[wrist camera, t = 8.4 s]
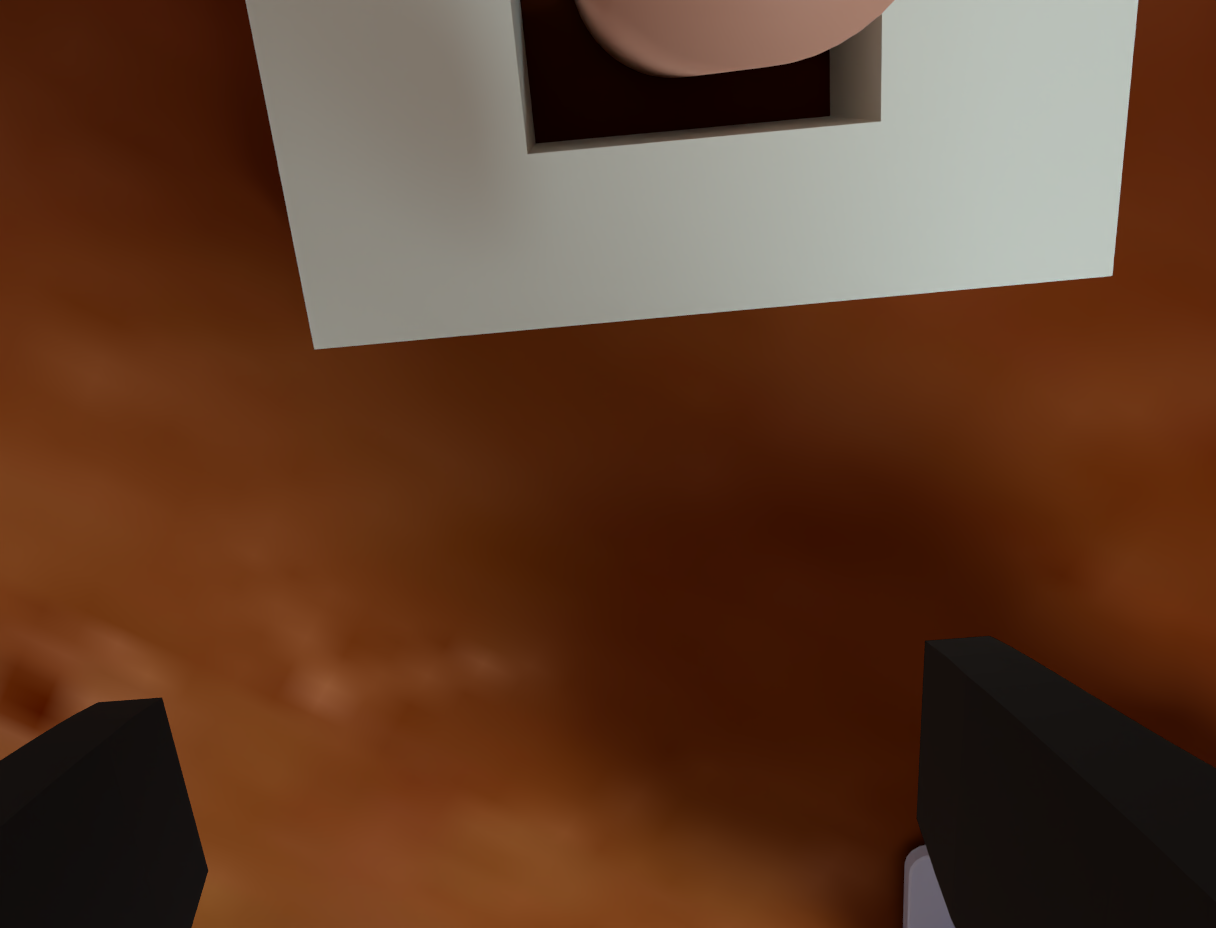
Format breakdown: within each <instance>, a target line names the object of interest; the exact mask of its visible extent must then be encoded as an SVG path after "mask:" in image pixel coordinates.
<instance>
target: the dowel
mask: <svg viewBox="0 0 1216 928" xmlns="http://www.w3.org/2000/svg"><path fill="white" fill-rule="evenodd" d="M574 1H575V5H576V7H577V9H578V12H579V14H580V17H581V19H582V21H583V22H584V24H585V26H586V28H587V30H588V31H589V32H590V34H591V35H592V37H593V38H594V39H595V41H596V42H597V43H598V44H599V45H600V46H601V47H602V48H603V49H604V50H605V51H606V52H607V53H608V54H609V55H610V56H612V57H613V58H614V59H616V60H617V61H618V62H620V63H622V64H623V65H625V66H627V67H628V68H631V69H633V70H635V71H638V72H640V73H643V74H647V75H650V76H654V77H662V78H683V77H691V76H699V75H707V74H715V73H723V72H731V71H739V70H747V69H755V68H763V67H770V66H776V65H783V64H789V63H793V62H796V61H800V60H803V59H806V58H809V57H813V56H816V55H818V54H820V53H822V52H824V51H826V50H829V49H831V48H833V47H835V46H837V45H839V44H841V43H842V42H844V41H846V40H847V39H849V38H850V37H852V36H854V35H855V34H857V33H858V32H860V31H861V30H862V29H864V28H865V27H866V26H867V25H869V24H870V23H871V22H872V21H873V20H875V19H876V18H877V17H878V16H880V15H881V14H882V13H883V12H884V11H885V10H886V9H887V8H888V6H889V5H890V4H891V3H892V2H893V1H894V0H574Z"/></svg>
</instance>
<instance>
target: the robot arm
mask: <svg viewBox="0 0 1216 928" xmlns="http://www.w3.org/2000/svg"><path fill="white" fill-rule="evenodd" d="M917 820H918V824H919V827H920V830H921V833H922V836H923V839H924V842H925V845H923V846H919V847H917V848H916V849H914V850H912V851H911V852H910V853H909V855H908V856H907V857H906V861H905V866H904V906H903V928H1216V768H1214V767H1213V766H1211V765H1209V764H1207V763H1205V762H1204V761H1202V760H1200V759H1198V758H1197V757H1195V756H1193V755H1191V754H1190V753H1188V752H1186V751H1185V750H1183V749H1181V748H1179V747H1178V746H1176V745H1174V744H1172V743H1171V742H1169V741H1167V740H1166V739H1164V738H1162V737H1161V736H1159V735H1157V734H1155V733H1154V732H1152V731H1150V730H1149V729H1147V728H1145V727H1144V726H1142V725H1140V724H1139V723H1137V722H1135V721H1134V720H1132V719H1130V718H1129V717H1127V716H1125V715H1124V714H1122V713H1120V712H1119V711H1117V710H1115V709H1114V708H1112V707H1110V706H1109V705H1107V704H1105V703H1104V702H1102V701H1100V700H1099V699H1097V698H1096V697H1094V696H1092V695H1091V694H1089V693H1087V692H1086V691H1084V690H1082V689H1081V688H1079V687H1078V686H1076V685H1074V684H1073V683H1071V682H1069V681H1068V680H1066V679H1064V678H1063V677H1061V676H1059V675H1058V674H1056V673H1055V672H1053V671H1051V670H1050V669H1048V668H1046V667H1045V666H1043V665H1041V664H1040V663H1038V662H1036V661H1035V660H1033V659H1031V658H1030V657H1028V656H1026V655H1024V654H1023V653H1021V652H1019V651H1017V650H1016V649H1014V648H1012V647H1010V646H1008V645H1007V644H1005V643H1003V642H1001V641H999V640H997V639H995V638H993V637H991V636H983V637H969V638H956V639H943V640H929V641H925V653H924V674H923V695H922V716H921V737H920V758H919V779H918V800H917ZM207 873H208V868H207V864H206V860H205V857H204V853H203V849H202V846H201V842H200V838H199V834H198V831H197V827H196V823H195V819H194V816H193V812H192V808H191V804H190V801H189V797H188V793H187V789H186V786H185V782H184V778H183V774H182V771H181V767H180V763H179V759H178V756H177V752H176V748H175V744H174V741H173V737H172V733H171V730H170V726H169V722H168V718H167V715H166V711H165V707H164V703H163V700H162V698H151V699H137V700H124V701H110V702H98V703H96V704H94V705H92V706H90V707H88V708H86V709H84V710H82V711H81V712H79V713H77V714H75V715H73V716H71V717H70V718H68V719H66V720H64V721H63V722H61V723H59V724H58V725H56V726H54V727H53V728H51V729H50V730H48V731H46V732H45V733H43V734H41V735H40V736H38V737H37V738H35V739H33V740H32V741H30V742H29V743H27V744H25V745H24V746H22V747H21V748H19V749H18V750H16V751H15V752H13V753H11V754H10V755H8V756H7V757H5V758H4V759H2V760H1V761H0V928H191V927H192V924H193V920H194V917H195V913H196V910H197V907H198V903H199V900H200V896H201V893H202V890H203V886H204V883H205V880H206V876H207Z"/></svg>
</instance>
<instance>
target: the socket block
mask: <svg viewBox="0 0 1216 928" xmlns="http://www.w3.org/2000/svg"><path fill="white" fill-rule="evenodd" d="M245 1H246V6H247V11H248V16H249V21H250V26H251V31H252V36H253V41H254V46H255V51H256V57H257V62H258V67H259V72H260V77H261V82H262V87H263V92H264V97H265V102H266V107H267V112H268V117H269V122H270V127H271V133H272V138H273V143H274V148H275V153H276V158H277V163H278V168H279V173H280V178H281V183H282V188H283V193H284V198H285V203H286V208H287V214H288V219H289V224H290V229H291V234H292V239H293V244H294V249H295V254H296V259H297V264H298V269H299V274H300V279H301V284H302V290H303V295H304V300H305V305H306V310H307V315H308V320H309V325H310V330H311V335H312V340H313V345H314V349H325V348H336V347H347V346H357V345H368V344H379V343H390V342H401V341H412V340H422V339H433V338H444V337H455V336H466V335H477V334H487V333H498V332H509V331H520V330H531V329H542V328H552V327H563V326H574V325H585V324H596V323H607V322H617V321H628V320H639V319H650V318H661V317H672V316H682V315H693V314H704V313H715V312H726V311H737V310H747V309H758V308H769V307H780V306H791V305H802V304H812V303H823V302H834V301H845V300H856V299H867V298H877V297H888V296H899V295H910V294H921V293H932V292H942V291H953V290H964V289H975V288H986V287H997V286H1007V285H1018V284H1029V283H1040V282H1051V281H1062V280H1072V279H1083V278H1094V277H1105V276H1112V274H1113V263H1114V252H1115V242H1116V231H1117V220H1118V210H1119V199H1120V189H1121V178H1122V167H1123V157H1124V146H1125V135H1126V125H1127V114H1128V103H1129V93H1130V82H1131V72H1132V61H1133V50H1134V40H1135V29H1136V18H1137V8H1138V0H894V1H893V2H892V3H891V4H890V5H889V6H888V8H887V9H886V10H885V11H884V12H883V13H882V14H881V15H880V16H878V17H877V18H876V19H875V20H873V21H872V22H871V23H870V24H869V25H867V26H866V27H865V28H864V29H862V30H861V31H860V32H858V33H857V34H855V35H854V36H852V37H850V38H849V39H847V40H846V41H844V42H842V43H841V44H839V45H837V46H835V47H833V48H831V49H830V116H825V117H814V118H804V119H793V120H782V121H771V122H761V123H750V124H739V125H728V126H718V127H707V128H696V129H685V130H675V131H664V132H653V133H642V134H632V135H621V136H610V137H599V138H588V139H578V140H567V141H556V142H545V143H536V142H535V133H534V124H533V114H532V105H531V96H530V86H529V77H528V68H527V59H526V49H525V40H524V31H523V21H522V12H521V3H520V0H245Z"/></svg>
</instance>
